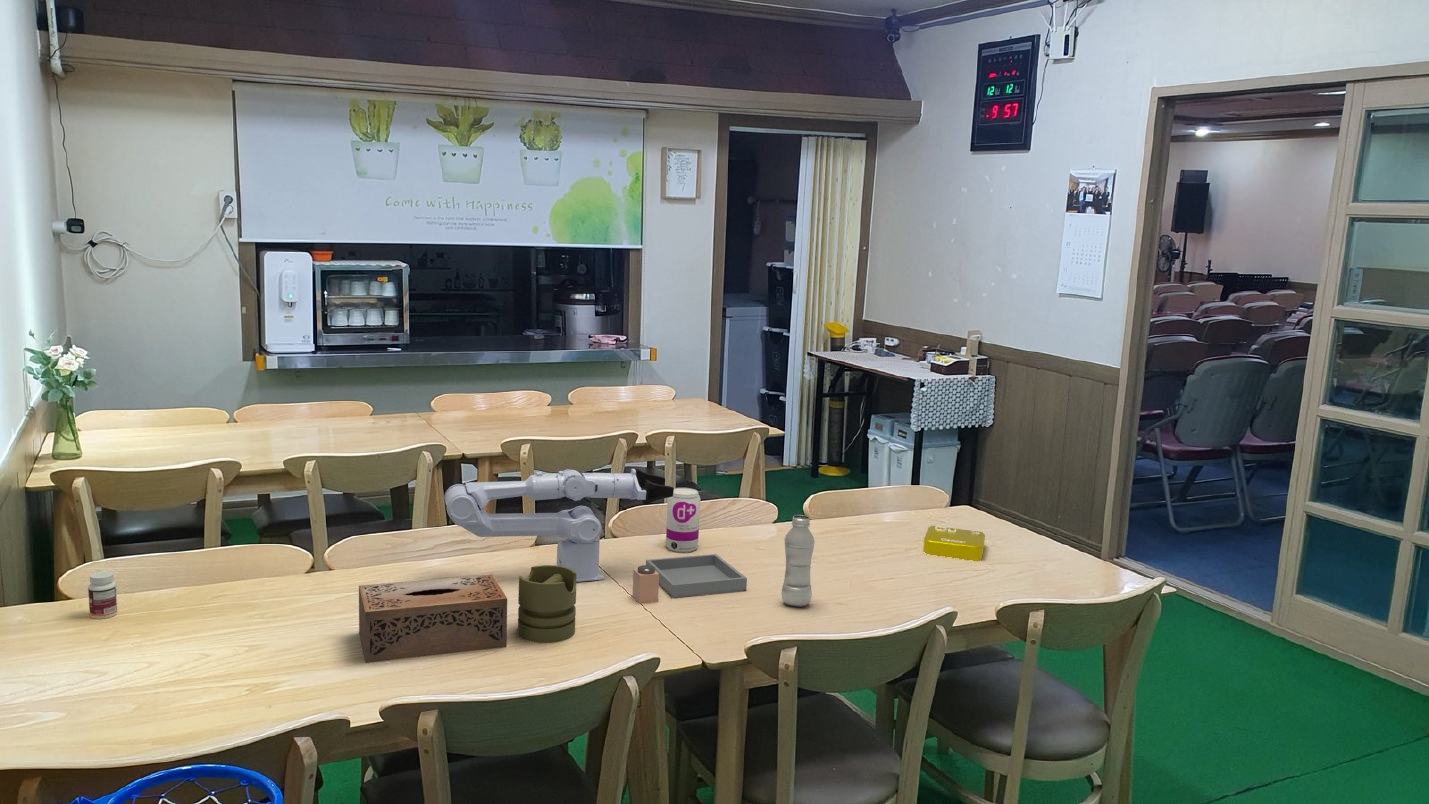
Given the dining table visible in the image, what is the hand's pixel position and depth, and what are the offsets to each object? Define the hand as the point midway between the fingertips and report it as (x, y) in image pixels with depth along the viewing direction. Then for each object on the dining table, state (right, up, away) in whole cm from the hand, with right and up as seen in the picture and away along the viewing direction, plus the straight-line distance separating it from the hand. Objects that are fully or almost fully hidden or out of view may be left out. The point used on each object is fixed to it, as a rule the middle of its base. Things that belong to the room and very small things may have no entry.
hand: (668, 487), depth 245 cm
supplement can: (+2, -18, +22) cm, 28 cm away
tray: (+6, -22, -2) cm, 23 cm away
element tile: (+74, -20, +32) cm, 83 cm away
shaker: (-5, -23, -15) cm, 28 cm away
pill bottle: (-110, -22, -39) cm, 119 cm away
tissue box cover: (-44, -27, -43) cm, 67 cm away
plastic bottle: (+29, -25, -14) cm, 41 cm away
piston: (-23, -26, -36) cm, 50 cm away
